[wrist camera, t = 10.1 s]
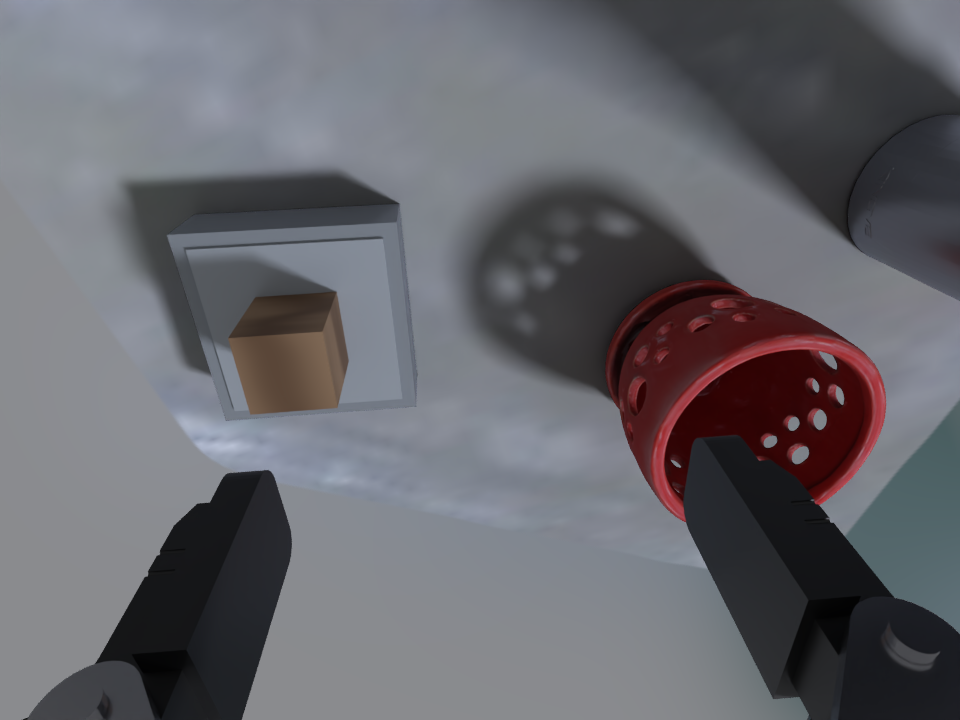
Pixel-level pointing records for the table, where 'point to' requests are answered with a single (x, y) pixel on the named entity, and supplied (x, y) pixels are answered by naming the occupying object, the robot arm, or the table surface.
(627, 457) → the table surface
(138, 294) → the table surface
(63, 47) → the table surface
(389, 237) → the pedestal
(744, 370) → the plant pot
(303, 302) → the walnut cube
